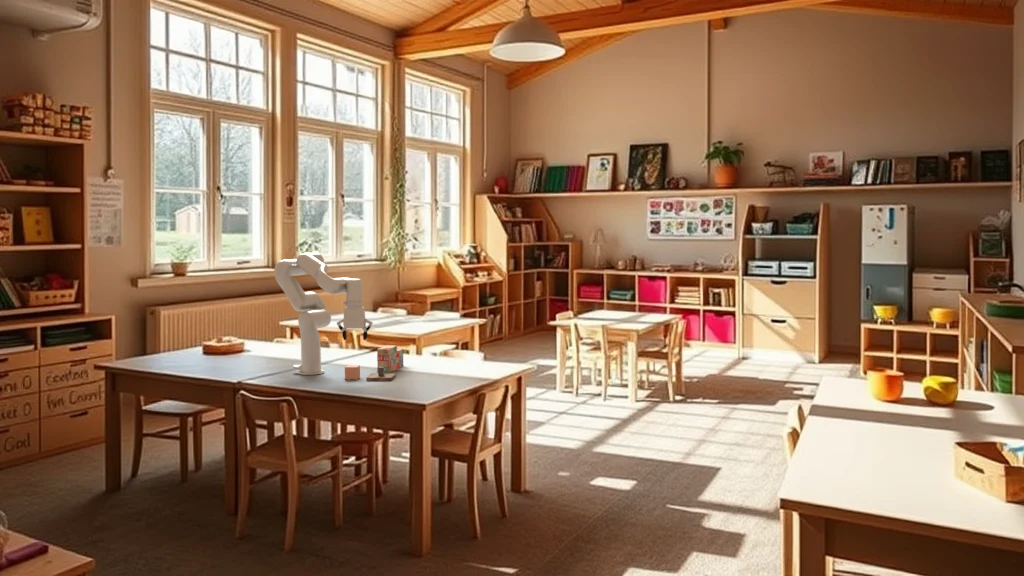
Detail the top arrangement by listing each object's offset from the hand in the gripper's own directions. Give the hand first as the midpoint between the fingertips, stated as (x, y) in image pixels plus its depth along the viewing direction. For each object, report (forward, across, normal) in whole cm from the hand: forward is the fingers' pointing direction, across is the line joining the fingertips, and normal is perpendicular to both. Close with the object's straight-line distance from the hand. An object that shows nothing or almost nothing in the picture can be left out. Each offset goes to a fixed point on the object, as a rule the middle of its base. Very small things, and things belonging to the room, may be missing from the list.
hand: (354, 339), depth 397 cm
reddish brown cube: (+19, -1, -1) cm, 19 cm away
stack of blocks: (+19, +12, +25) cm, 34 cm away
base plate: (+19, +13, -1) cm, 23 cm away
